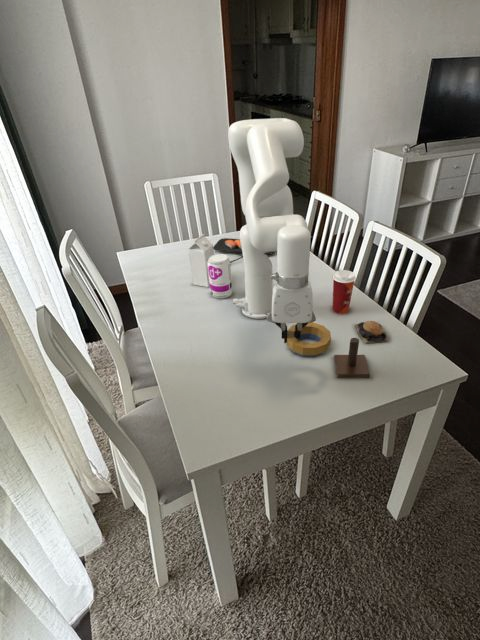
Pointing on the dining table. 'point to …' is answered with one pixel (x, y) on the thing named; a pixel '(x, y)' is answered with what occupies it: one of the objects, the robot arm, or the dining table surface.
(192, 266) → the milk carton
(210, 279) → the supplement can
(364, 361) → the stand
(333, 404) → the dining table surface
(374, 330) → the bun on tray
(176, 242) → the dining table surface
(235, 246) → the sushi plate
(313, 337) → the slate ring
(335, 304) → the paper cup
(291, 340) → the brass ring
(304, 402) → the dining table surface
